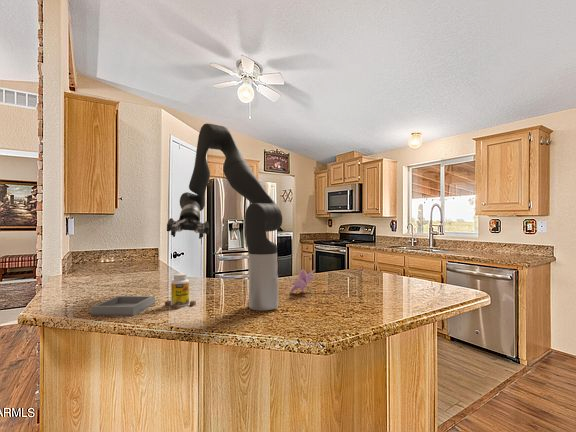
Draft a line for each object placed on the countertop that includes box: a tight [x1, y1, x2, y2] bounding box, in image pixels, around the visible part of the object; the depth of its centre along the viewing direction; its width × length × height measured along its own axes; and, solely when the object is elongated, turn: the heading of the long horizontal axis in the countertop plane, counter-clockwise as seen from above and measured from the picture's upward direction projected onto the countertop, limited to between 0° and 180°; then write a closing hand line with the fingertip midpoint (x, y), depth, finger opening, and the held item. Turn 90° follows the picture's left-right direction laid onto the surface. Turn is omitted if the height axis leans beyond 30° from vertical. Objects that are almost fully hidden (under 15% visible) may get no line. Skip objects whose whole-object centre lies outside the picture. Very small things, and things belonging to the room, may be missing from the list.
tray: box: [90, 295, 156, 317], centre depth 98 cm, size 13×13×3 cm
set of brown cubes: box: [164, 300, 197, 310], centre depth 102 cm, size 10×10×1 cm
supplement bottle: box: [170, 273, 190, 308], centre depth 102 cm, size 6×6×10 cm
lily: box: [289, 268, 316, 296], centre depth 115 cm, size 12×12×10 cm
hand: (187, 235), depth 104 cm, fingers open, 8 cm apart
